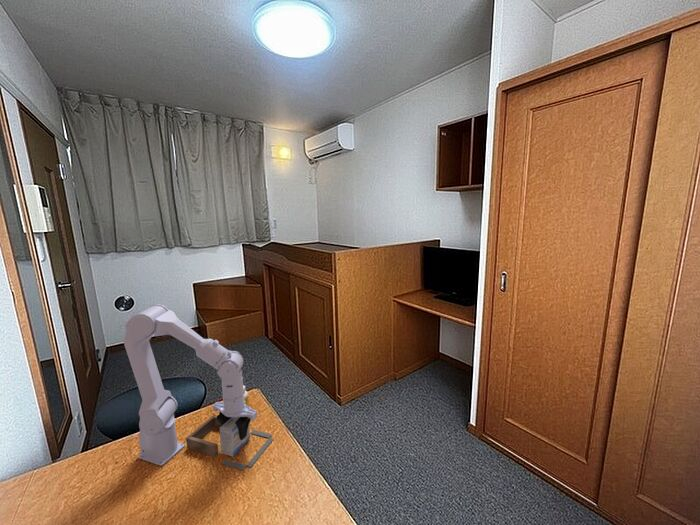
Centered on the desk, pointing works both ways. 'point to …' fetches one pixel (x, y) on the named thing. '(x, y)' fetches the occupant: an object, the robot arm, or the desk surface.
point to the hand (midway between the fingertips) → (236, 435)
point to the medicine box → (231, 437)
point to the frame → (257, 455)
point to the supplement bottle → (245, 396)
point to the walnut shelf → (196, 437)
